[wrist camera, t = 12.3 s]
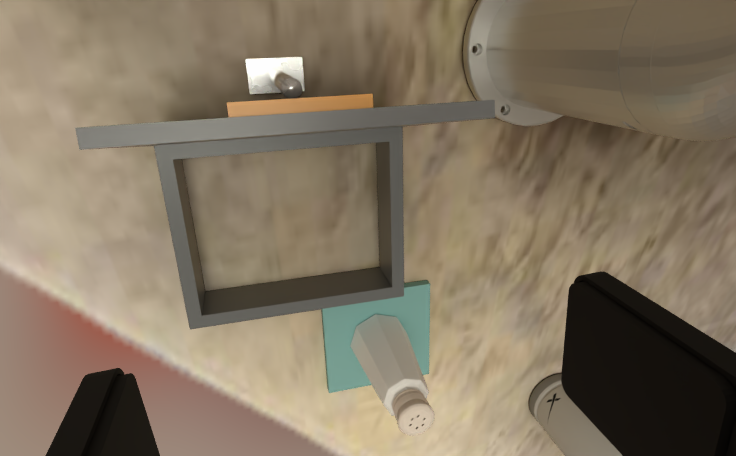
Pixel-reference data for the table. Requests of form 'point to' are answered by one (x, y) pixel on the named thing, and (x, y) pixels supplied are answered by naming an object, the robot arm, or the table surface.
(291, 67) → the post
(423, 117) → the lid
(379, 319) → the salt shaker
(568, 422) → the travel mug
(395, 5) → the table surface
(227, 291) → the case
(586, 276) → the robot arm
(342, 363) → the pad
